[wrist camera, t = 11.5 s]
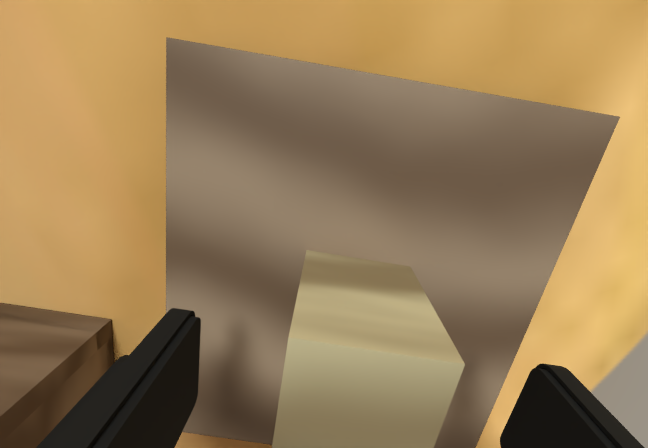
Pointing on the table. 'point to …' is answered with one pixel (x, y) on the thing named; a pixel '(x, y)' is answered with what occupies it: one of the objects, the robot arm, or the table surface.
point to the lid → (359, 244)
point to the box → (46, 368)
